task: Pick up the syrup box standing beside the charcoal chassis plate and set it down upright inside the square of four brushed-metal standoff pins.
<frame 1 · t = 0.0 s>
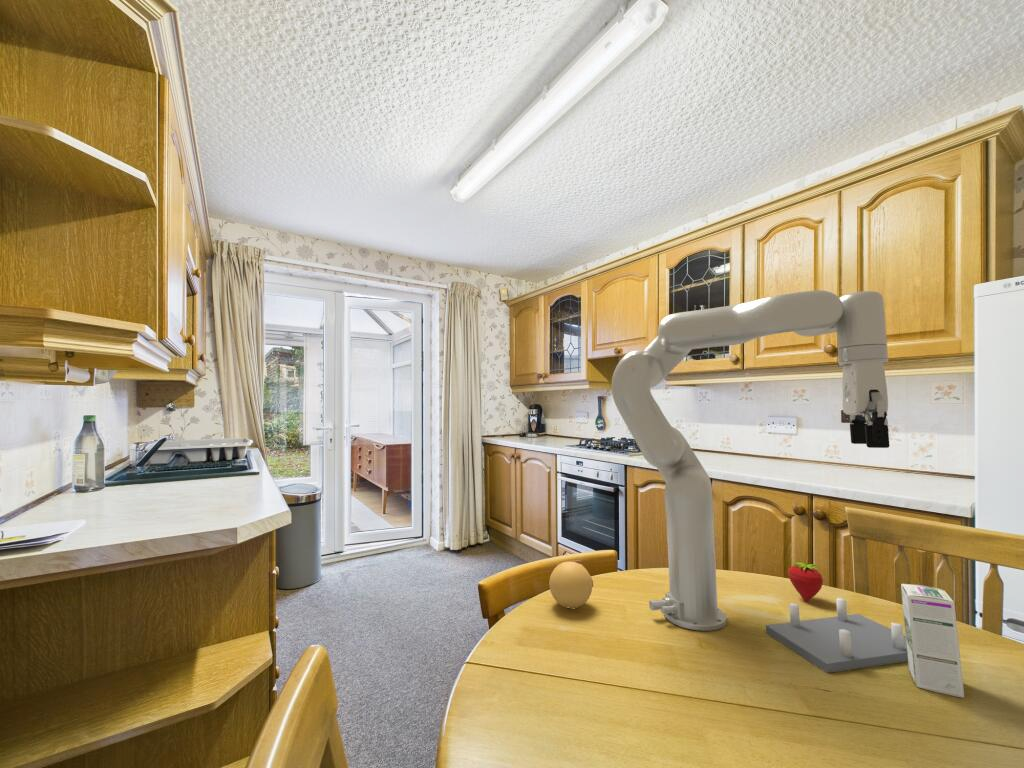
hand: (869, 445, 84), 37 cm above the table, tool pointing down, fingers open, 9 cm apart
stress ball: (571, 607, 102), on the table
strawberry: (806, 601, 103), on the table
syrup box: (934, 684, 71), on the table
chassis plate: (844, 644, 83), on the table
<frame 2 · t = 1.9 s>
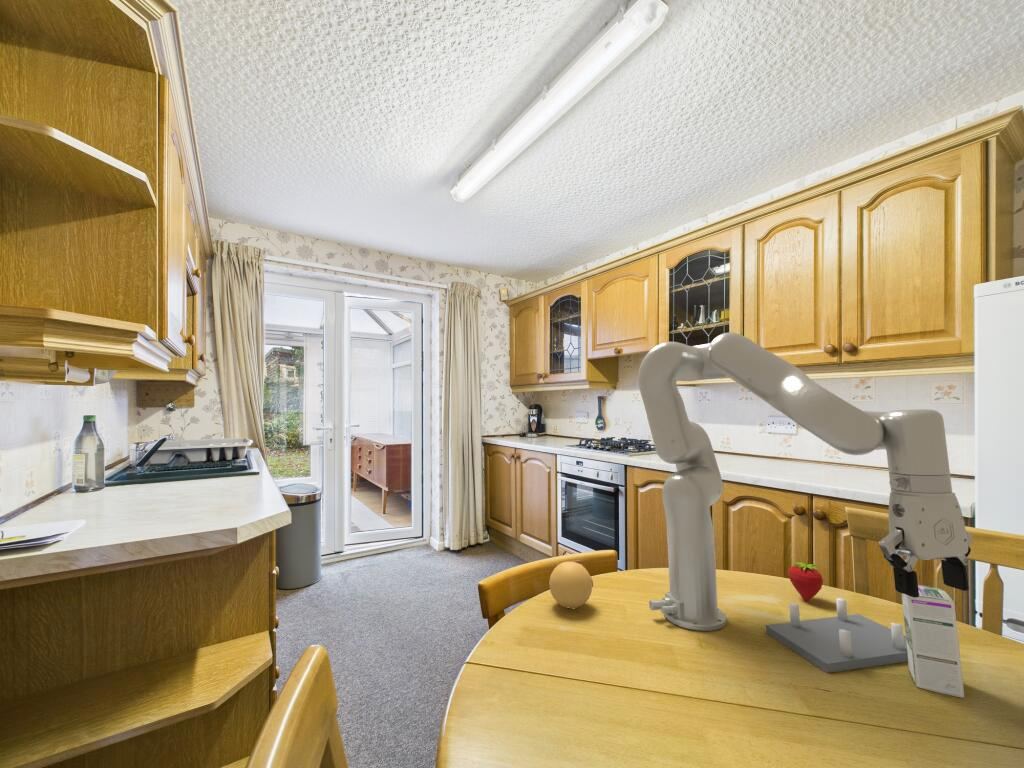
hand: (931, 590, 72), 15 cm above the table, tool pointing down, fingers open, 9 cm apart
nothing on the table moved.
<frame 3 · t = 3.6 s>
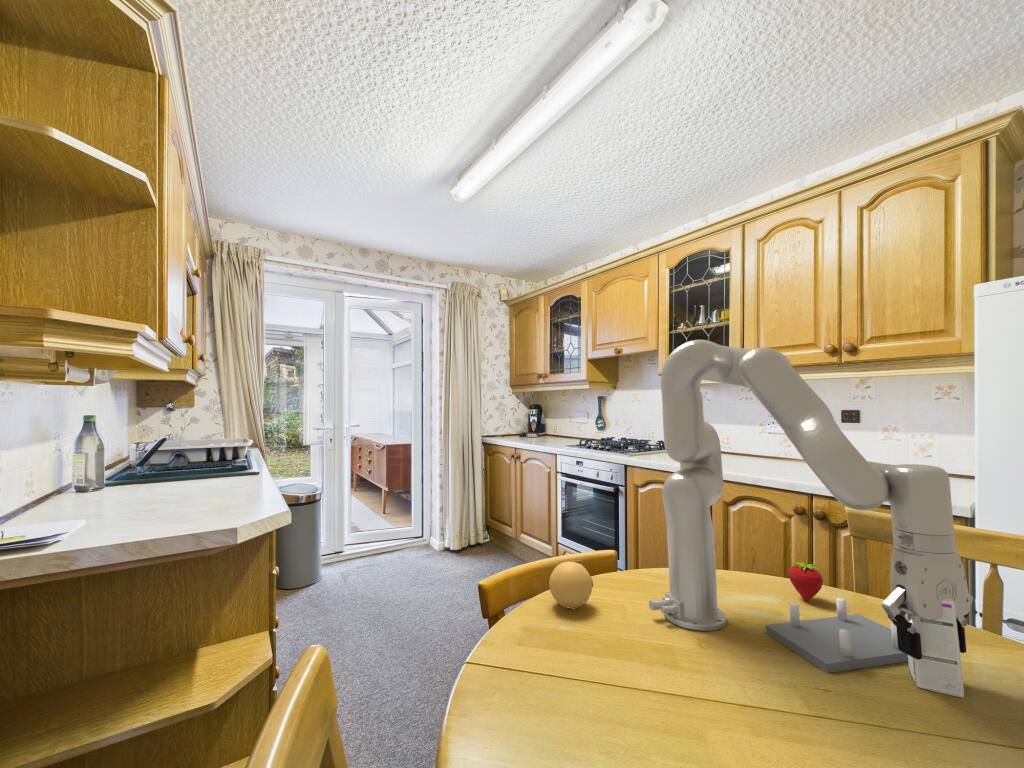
hand: (932, 651, 71), 5 cm above the table, tool pointing down, fingers closed on syrup box, 8 cm apart
syrup box: (934, 684, 71), on the table, touching gripper
everything else where it was.
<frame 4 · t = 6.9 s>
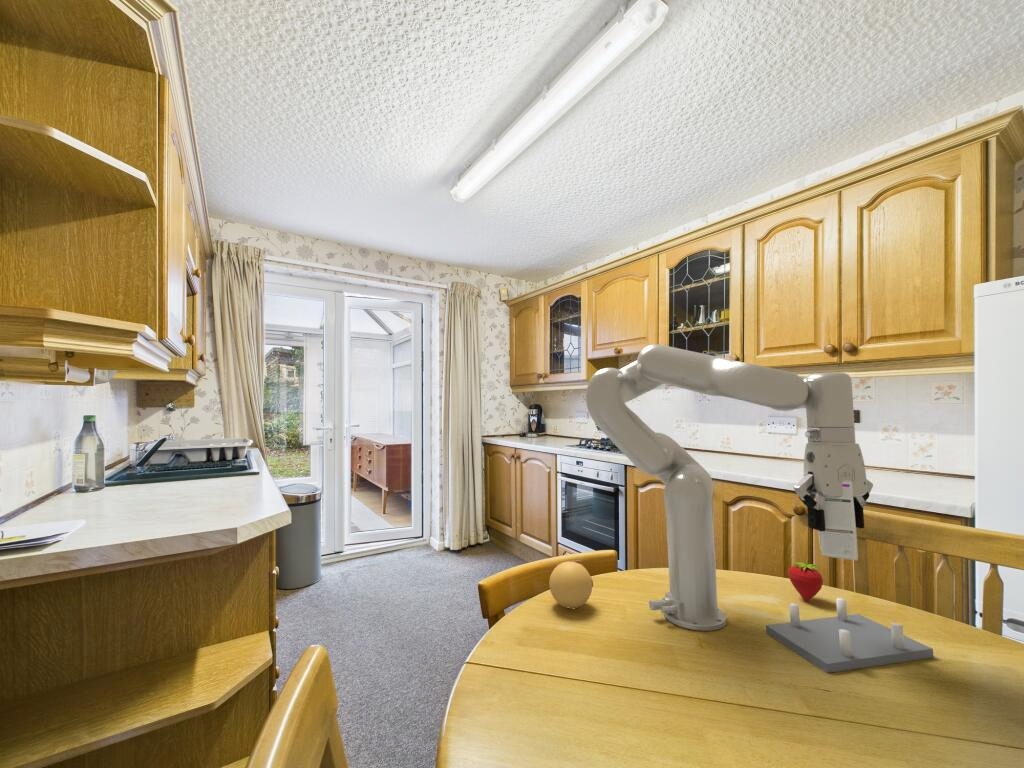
hand: (836, 527, 85), 22 cm above the table, tool pointing down, fingers closed on syrup box, 8 cm apart
syrup box: (837, 555, 84), point 16 cm above the table, touching gripper
everything else where it was.
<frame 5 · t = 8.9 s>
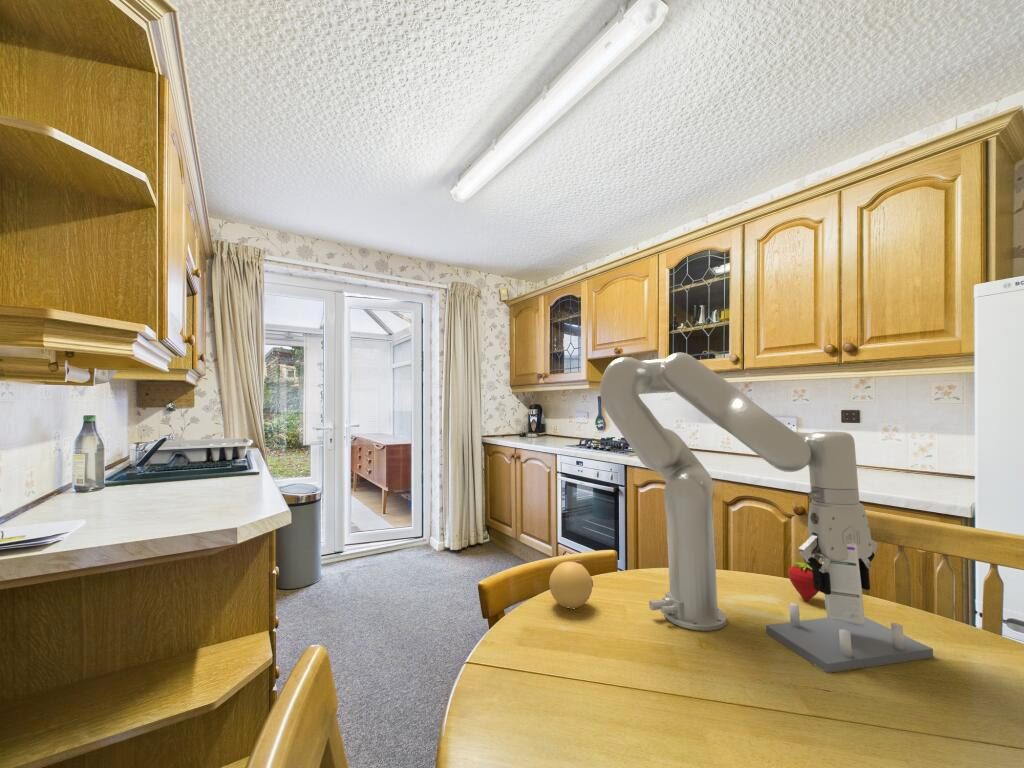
hand: (841, 589, 84), 10 cm above the table, tool pointing down, fingers closed on syrup box, 8 cm apart
syrup box: (844, 617, 84), point 5 cm above the table, touching gripper
everything else where it was.
when the fingers open (8 cm above the table, at t = 10.5 s): syrup box drops 1 cm, resting on chassis plate.
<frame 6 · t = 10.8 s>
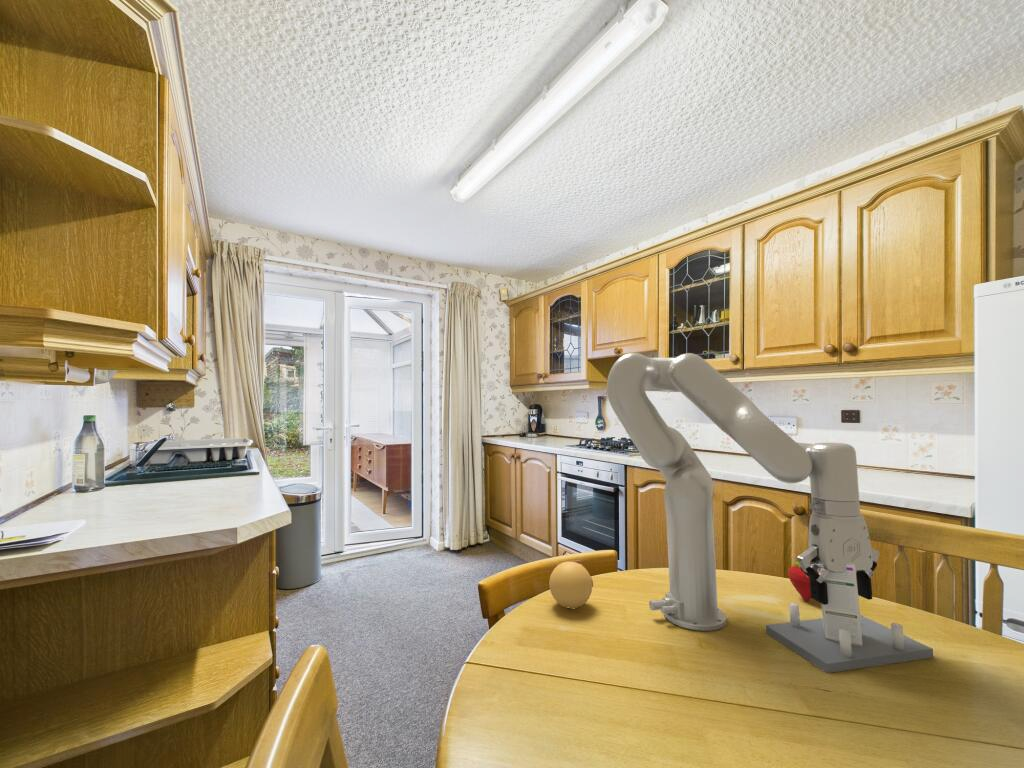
hand: (841, 599, 84), 8 cm above the table, tool pointing down, fingers open, 9 cm apart
syrup box: (841, 637, 83), point 1 cm above the table, touching chassis plate
everything else where it was.
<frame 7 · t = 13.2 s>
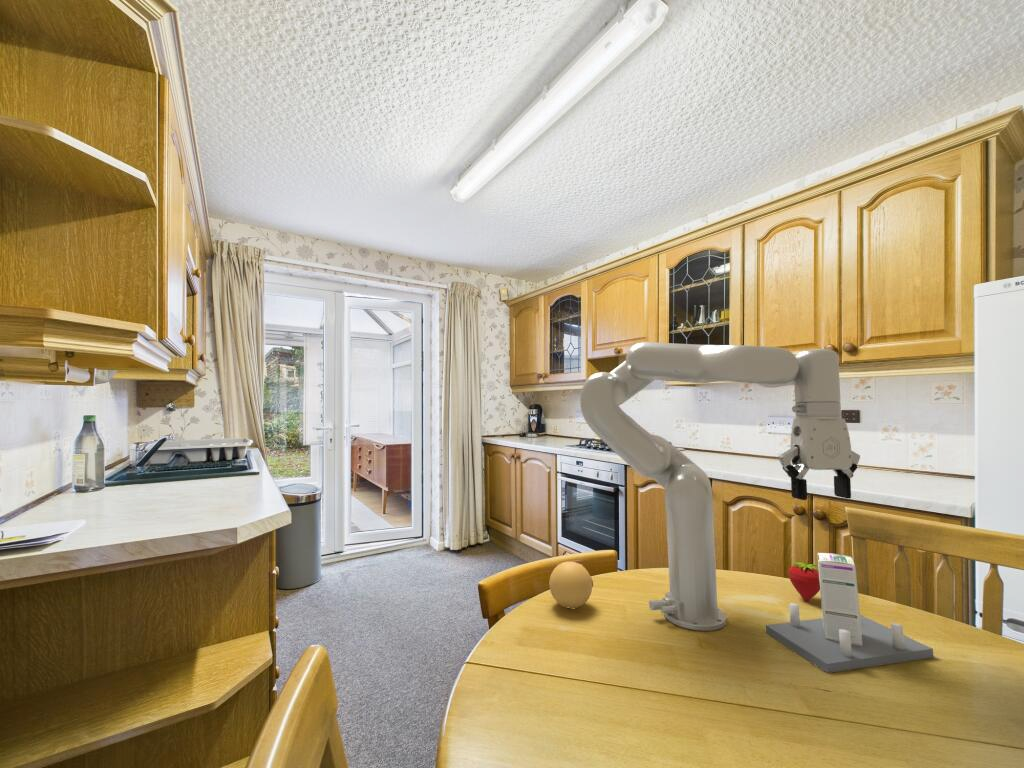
hand: (821, 497, 88), 27 cm above the table, tool pointing down, fingers open, 9 cm apart
nothing on the table moved.
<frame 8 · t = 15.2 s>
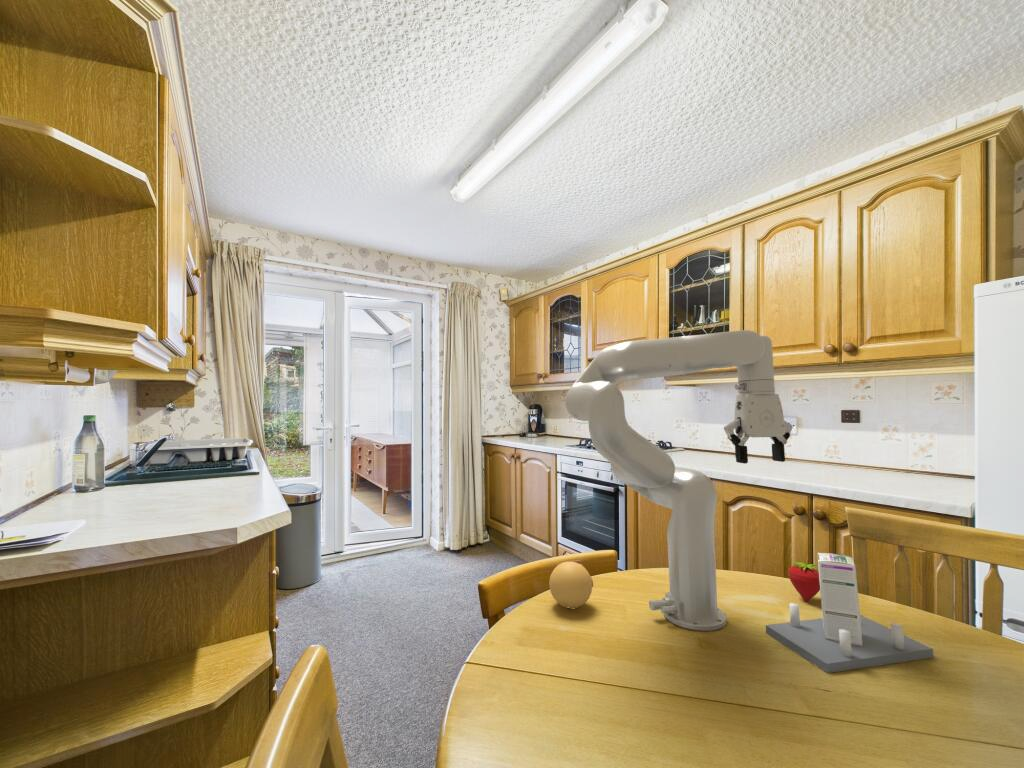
hand: (760, 461, 103), 32 cm above the table, tool pointing down, fingers open, 9 cm apart
nothing on the table moved.
at the end: syrup box 0.5 cm off-centre on the chassis plate, point 1.3 cm above the chassis plate's base; syrup box tilted 0°; the gripper is holding nothing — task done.
